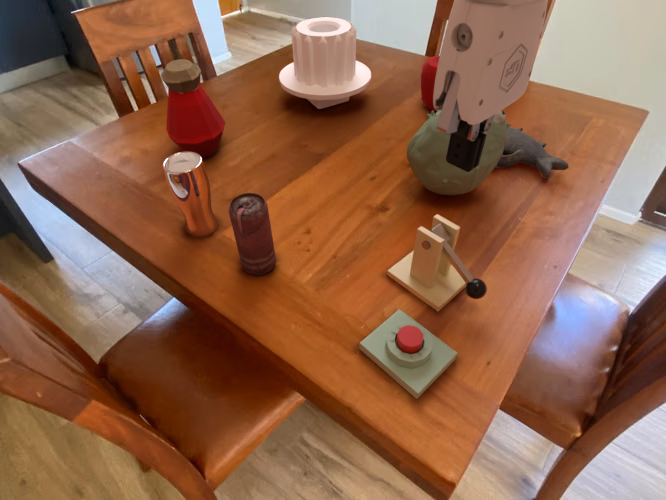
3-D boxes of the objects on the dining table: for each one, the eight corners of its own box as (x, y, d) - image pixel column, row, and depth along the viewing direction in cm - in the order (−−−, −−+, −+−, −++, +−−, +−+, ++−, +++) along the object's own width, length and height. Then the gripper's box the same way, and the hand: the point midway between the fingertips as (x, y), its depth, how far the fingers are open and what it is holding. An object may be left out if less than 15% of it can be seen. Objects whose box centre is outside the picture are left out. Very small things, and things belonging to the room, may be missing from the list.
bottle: (231, 162, 100) (213, 77, 86) (171, 170, 98) (142, 84, 84) (228, 128, 111) (212, 48, 97) (175, 134, 109) (150, 53, 95)
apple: (461, 114, 114) (472, 62, 105) (423, 117, 113) (431, 65, 104) (448, 96, 122) (457, 46, 112) (412, 99, 121) (419, 48, 111)
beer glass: (199, 211, 88) (179, 147, 77) (227, 221, 86) (211, 156, 75) (176, 232, 83) (152, 167, 73) (205, 243, 81) (184, 177, 71)
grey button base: (455, 359, 63) (460, 346, 61) (416, 399, 59) (419, 387, 56) (398, 315, 69) (400, 301, 66) (359, 349, 65) (359, 335, 62)
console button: (426, 342, 62) (428, 336, 60) (410, 358, 60) (412, 351, 59) (407, 327, 64) (408, 320, 62) (391, 342, 62) (392, 335, 61)
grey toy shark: (495, 106, 106) (445, 127, 103) (578, 153, 90) (522, 180, 87) (492, 124, 110) (444, 145, 106) (572, 173, 94) (517, 199, 90)
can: (237, 275, 75) (221, 214, 65) (248, 250, 80) (234, 189, 70) (270, 279, 75) (259, 218, 65) (280, 253, 79) (271, 192, 69)
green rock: (390, 178, 95) (398, 90, 80) (464, 159, 99) (484, 73, 85) (426, 222, 84) (443, 130, 70) (506, 199, 89) (538, 108, 75)
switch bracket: (470, 282, 73) (486, 231, 65) (437, 312, 69) (451, 261, 61) (419, 249, 79) (428, 198, 71) (386, 275, 75) (392, 224, 67)
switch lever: (481, 293, 69) (495, 289, 66) (469, 305, 67) (483, 300, 64) (432, 228, 69) (443, 220, 66) (419, 237, 68) (431, 230, 65)
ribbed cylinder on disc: (306, 129, 110) (301, 53, 97) (267, 91, 126) (258, 21, 112) (387, 105, 118) (393, 31, 105) (341, 72, 134) (341, 5, 120)
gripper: (496, 1, 29) (448, 210, 42) (594, -38, 36) (527, 151, 49) (409, -19, 33) (390, 178, 46) (513, -51, 40) (471, 127, 53)
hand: (461, 163), depth 48 cm, fingers closed
